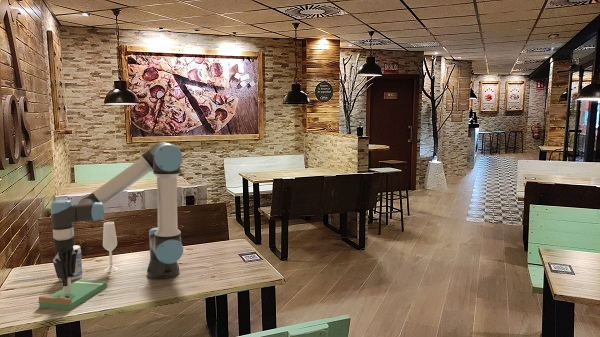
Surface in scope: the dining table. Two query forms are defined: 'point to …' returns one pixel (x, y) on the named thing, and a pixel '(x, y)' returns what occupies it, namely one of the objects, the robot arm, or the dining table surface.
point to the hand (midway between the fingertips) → (67, 292)
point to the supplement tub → (77, 264)
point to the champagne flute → (109, 242)
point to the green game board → (72, 295)
